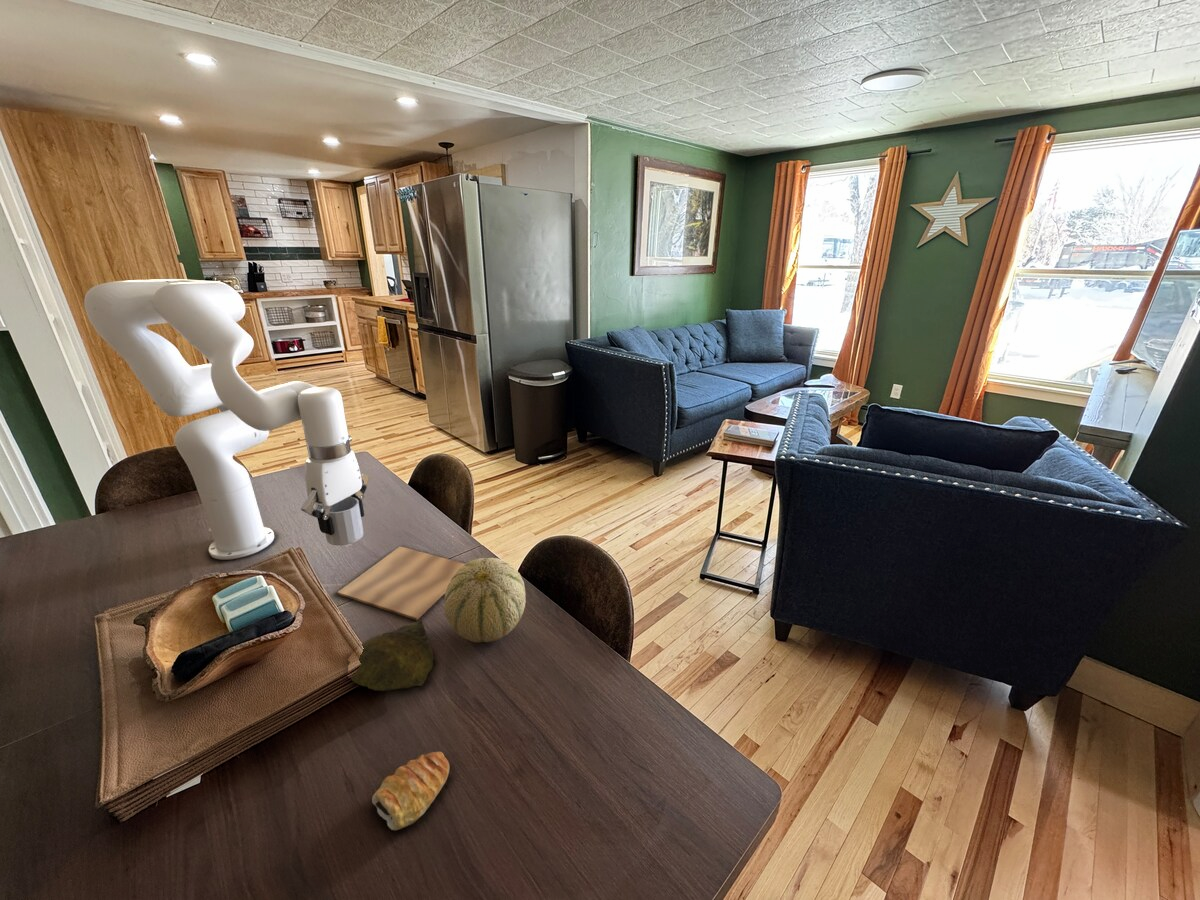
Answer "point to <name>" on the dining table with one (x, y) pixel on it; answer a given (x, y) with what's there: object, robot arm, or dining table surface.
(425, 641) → the pottery fragment
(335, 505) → the pot
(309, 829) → the dining table surface
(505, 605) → the cantaloupe
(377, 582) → the board
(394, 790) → the pastry
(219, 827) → the dining table surface
